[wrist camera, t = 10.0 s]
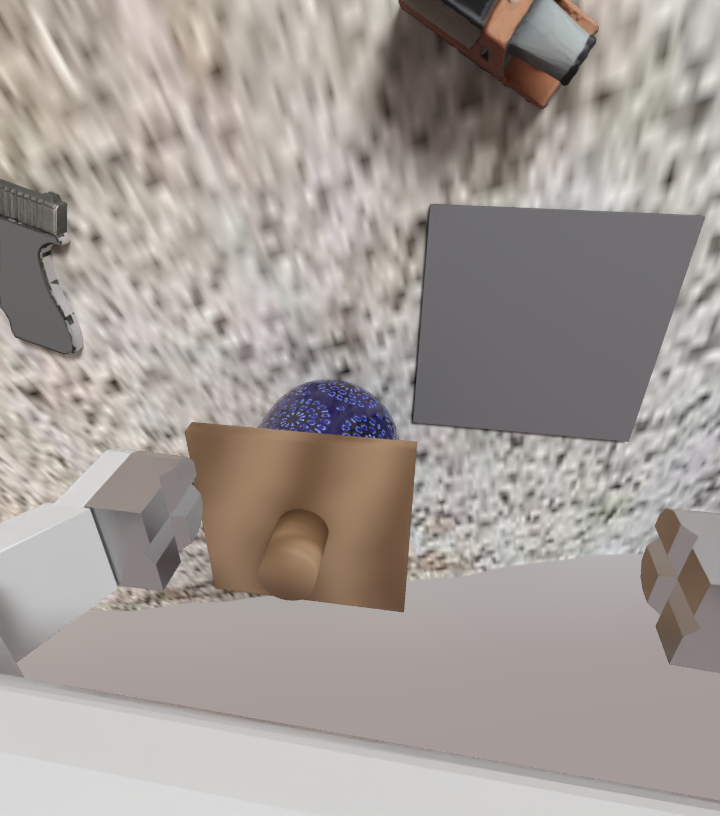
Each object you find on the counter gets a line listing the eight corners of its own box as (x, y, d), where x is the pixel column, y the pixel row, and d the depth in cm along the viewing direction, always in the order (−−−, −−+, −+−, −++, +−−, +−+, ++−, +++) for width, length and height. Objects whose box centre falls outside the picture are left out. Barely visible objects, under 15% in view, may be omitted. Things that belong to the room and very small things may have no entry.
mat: (702, 215, 31) (705, 216, 31) (627, 438, 39) (628, 441, 39) (430, 203, 33) (430, 205, 33) (413, 419, 41) (413, 422, 41)
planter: (245, 408, 43) (188, 497, 34) (345, 335, 38) (312, 415, 29) (331, 495, 47) (301, 598, 37) (433, 438, 42) (428, 539, 33)
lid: (416, 441, 29) (411, 501, 25) (404, 599, 36) (398, 668, 31) (191, 422, 31) (150, 475, 26) (220, 577, 37) (191, 639, 33)
